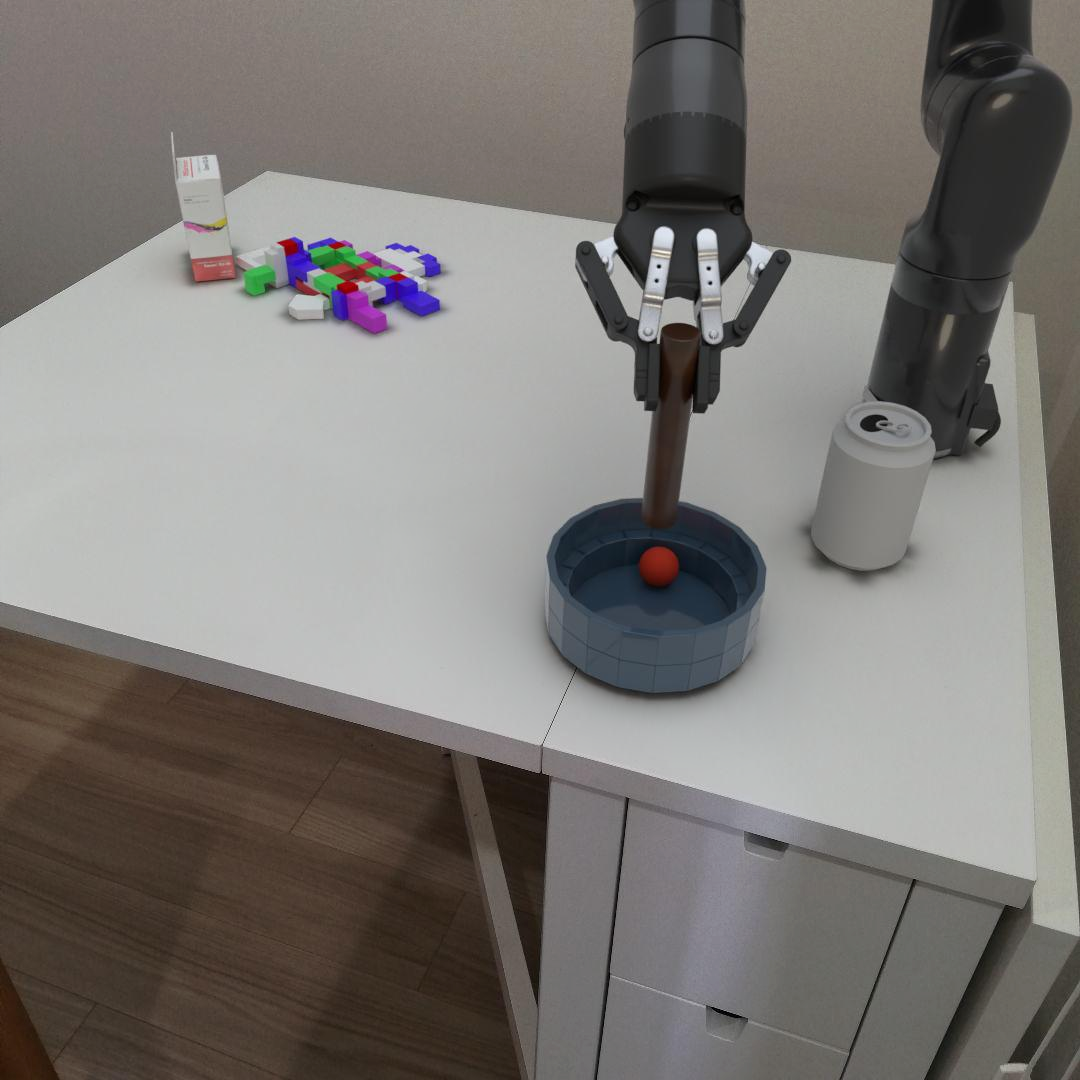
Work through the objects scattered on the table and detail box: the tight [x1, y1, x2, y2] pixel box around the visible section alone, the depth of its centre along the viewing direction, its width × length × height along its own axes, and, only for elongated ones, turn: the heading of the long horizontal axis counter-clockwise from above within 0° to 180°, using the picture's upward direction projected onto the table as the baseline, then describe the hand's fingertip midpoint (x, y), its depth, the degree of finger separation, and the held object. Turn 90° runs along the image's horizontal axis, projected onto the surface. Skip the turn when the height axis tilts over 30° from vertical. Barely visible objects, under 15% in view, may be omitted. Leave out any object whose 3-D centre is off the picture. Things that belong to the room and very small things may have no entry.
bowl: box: [544, 497, 767, 694], centre depth 76 cm, size 15×15×6 cm
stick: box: [641, 322, 701, 529], centre depth 67 cm, size 2×2×14 cm
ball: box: [639, 547, 679, 587], centre depth 79 cm, size 3×3×3 cm
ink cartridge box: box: [170, 131, 237, 282], centre depth 121 cm, size 9×5×15 cm, turn 17°
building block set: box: [235, 236, 442, 334], centre depth 121 cm, size 25×20×4 cm
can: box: [810, 401, 936, 572], centre depth 81 cm, size 8×8×12 cm
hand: (676, 408), depth 64 cm, fingers closed on stick, 2 cm apart
